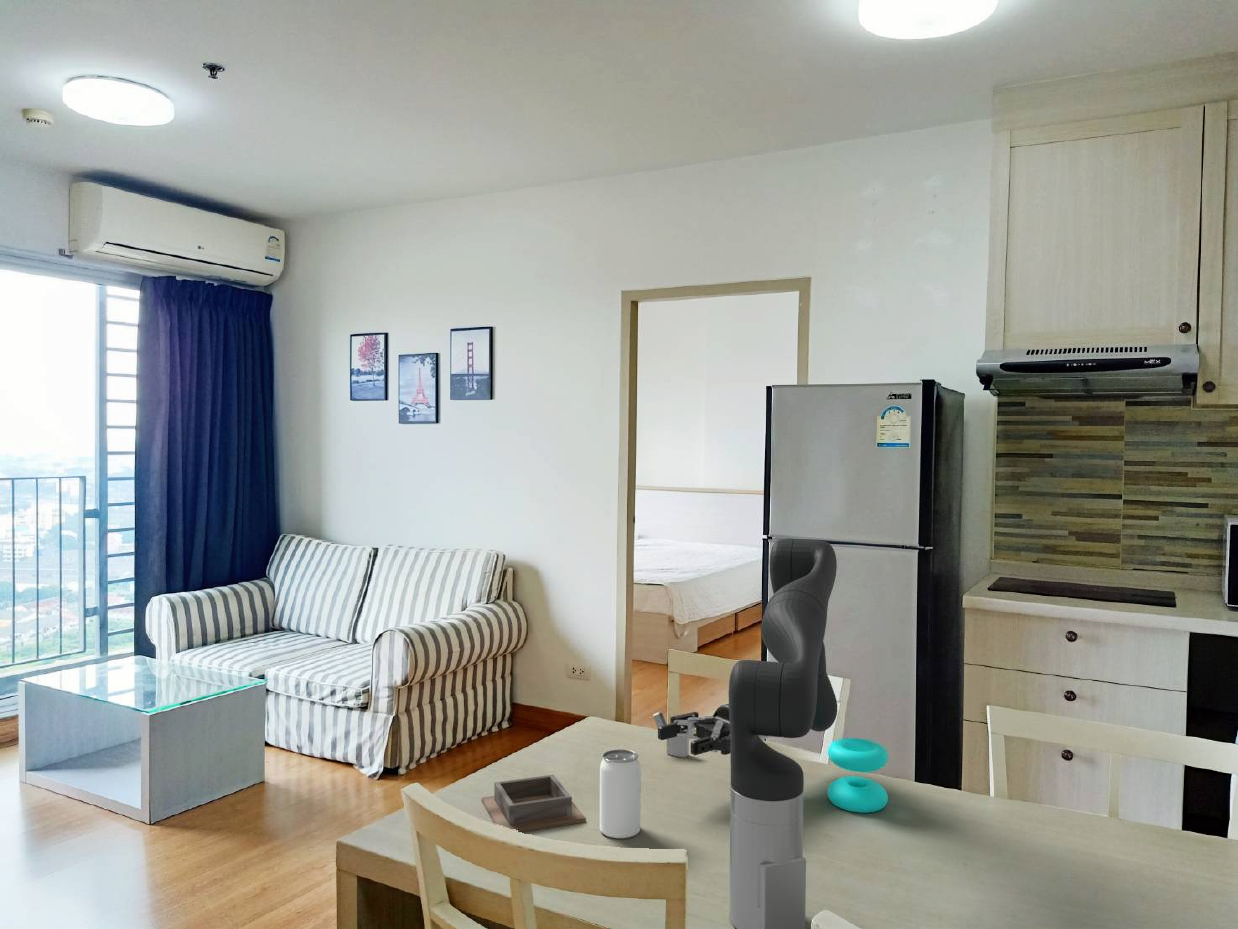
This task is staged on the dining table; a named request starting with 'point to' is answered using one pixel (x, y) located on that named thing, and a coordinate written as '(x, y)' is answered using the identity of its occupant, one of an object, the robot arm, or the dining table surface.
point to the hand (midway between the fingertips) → (675, 741)
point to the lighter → (673, 739)
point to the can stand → (532, 804)
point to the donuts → (852, 789)
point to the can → (620, 794)
